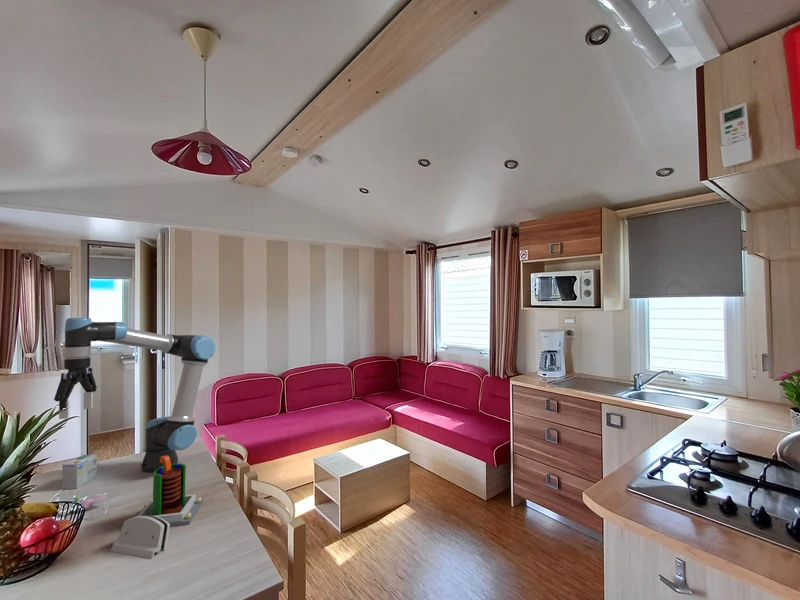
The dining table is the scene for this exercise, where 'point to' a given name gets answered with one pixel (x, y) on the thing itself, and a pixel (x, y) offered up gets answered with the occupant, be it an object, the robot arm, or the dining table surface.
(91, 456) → the light bulb box
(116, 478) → the dining table surface
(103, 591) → the dining table surface
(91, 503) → the rabbit figure
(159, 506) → the motor
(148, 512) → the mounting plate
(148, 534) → the grey arched block
